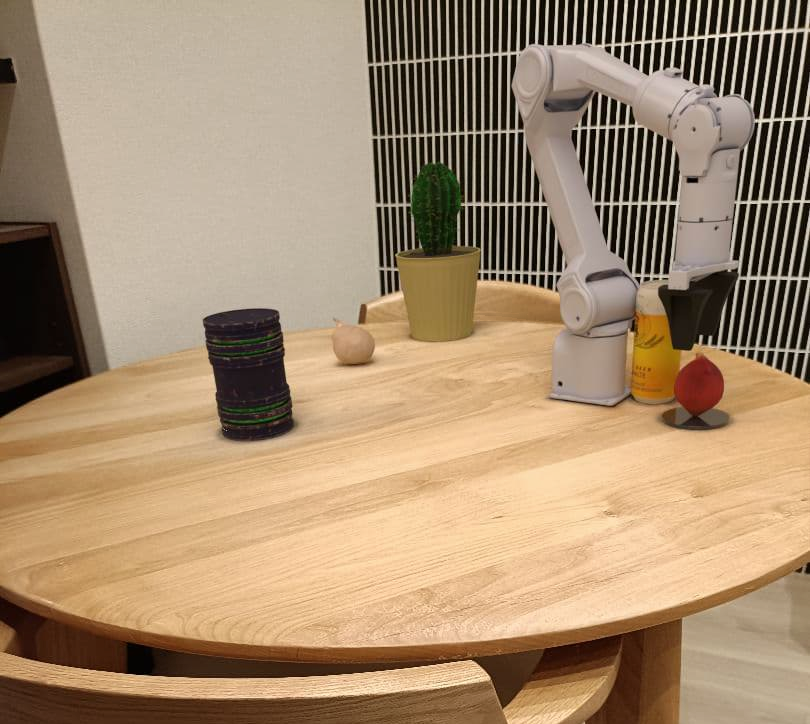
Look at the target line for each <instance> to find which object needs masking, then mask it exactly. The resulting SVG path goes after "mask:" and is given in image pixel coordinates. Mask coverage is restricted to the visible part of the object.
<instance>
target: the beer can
mask: <svg viewBox="0 0 810 724" xmlns="http://www.w3.org/2000/svg"><path fill="white" fill-rule="evenodd" d="M668 283H669V279H652V280H646V281H642V282H641V283H639V285H640V288H639V290H638V291H637V296H636V312H635V319H634V331H633V346H632V347H633V348H632V360H631V361H632V364H631V378H630V387H631V394H630V395H632V397H633V398H634V400H635V401H637V402H639V403H642V404H649V405H661V404H667V403H670V402H672V401H673V400H674V398H676V397H675V395H674V383H675V379H676V377H677V375H678V373H679V372H680V370H681V360H682V351H683V350H675V349H673V347H672V343H671V336H670V330H669V324H668V319H667V315H666V312H665V309H664V306H663V304H662V302H661V300H660V298H659V296H658V287H660V286H662V285H664V284H665V285H668Z"/></svg>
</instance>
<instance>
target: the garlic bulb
mask: <svg viewBox="0 0 810 724" xmlns="http://www.w3.org/2000/svg"><path fill="white" fill-rule="evenodd" d="M332 319H333V321H334V323H335V324H336V329H334V330H333V332H332V335H331V340H332V349H333V350H332V351H333V352H334V355H335V356H336V358H337V360H338V361H340V363H342V364H344V365H359V364H365V363H367V362H369V361H370V360H371V358H372V357H373V356H374V353H375V349H376V342H375V338H374V336H373V335H372V334H371V333H370V332H369V331H368V330H366V329H365V328H362V327H359V326H357V325H354V324H343V323H342V322H341V320H340V319H338V318H336V317H334V316H333V317H332Z"/></svg>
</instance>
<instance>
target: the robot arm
mask: <svg viewBox="0 0 810 724" xmlns="http://www.w3.org/2000/svg"><path fill="white" fill-rule="evenodd" d="M515 66H516V67H515V69H514V70H515V71H514V74H513V78H512V81H511V89H512V92H513V95H514V98H515V101H516V104H517V107H518V111H519V114H520V117H521V120H522V123H523V128H524V137H525V142H526V145H527V149H528V152H529V155H530V157H531V160H532V163H533V167H534V170H535V173H536V175H537V178H538V182H539V184H540V188H541V191H542V194H543V196H544V199H545V203H546V204H547V208H548V211H549V214H550V219H551V221H552V224H553V227H554V230H555V232H556V236H557V238H558V239H557V240H558V243H559V245H560V248H561V251H562V253H563V257H564V260H565V263H566V267H565V269H564V270H563V272H562V274H561V275H560V277H559V279H558V280H557V282H556V288H557V292H558V296H559V312H560V316H561V320H562V322H563V324H564V326H565V327H566V328H562V329H561V330H560V331H558V333H557V335H556V337H555V339H554V342H553V347H552V353H551V354H552V359H551V360H552V361H551V363H552V364H551V392H550V393H549V394H548V395H549V398H551V399H556V400H565V401H566V400H567V401H572V402H578V403H579V402H580V403H587V404H593V405H600V406H601V405H602V406H608V407H613V406H615V405H616V404H618V403H620V402H621V401H623V400H624V399H625V398H628V397H629V396H630V395H632V394H631V386H627V385H626V378H627V377H626V375H627V374H626V373H627V356H628V338H629V337H628V336H629V330H630V329H632V327H633V321H635V312H636V296H637V291H638V290H639V288H640V283H639V282H638V280H637V279H636V278H635V276H633V275H632V273H631V271H630V269H629V267H628V264H627V262H626V261H625V260H624V259H623V258H621V257H620V256H619V255H617V254H615V253H614V252H612V251H611V250H609V249H608V244H607V243H606V239H605V236H604V233H603V230H602V227H601V224H600V220H599V218H598V215H597V212H596V210H595V207H594V203H593V200H592V197H591V194H590V191H589V187H588V184H587V182H586V179H585V176H584V172H583V170H582V166H581V164H580V160H579V158H578V154H577V152H576V148H575V145H574V142H573V140H572V136H571V135H572V131H573V129H574V128H575V127H576V126H577V125H578V124H579V123H580V122H581V119H582V118H583V116H584V114H585V112H586V110H587V109H588V107H589V105H590V103H591V101H592V100H593V98H594V95H595V94H596V92H597V93H599V94H601V95H604V96H606V97H607V98H608V97H609V98H611V99H613V100H615V101H618V102H620V103H622V104H624V105H627V106H629V107H632V108H631V109H632V115H633V118H634V120H635V122H636V123H637V124H639V125H640V126H642V127H644V128H646V129H648V130H650V131H652V132H654V133H655V134H657V135H659V136H661V137H663V138H665V139H666V140H669V141H670V142H672V143H673V146H674V149H675V151H676V153H677V155H678V159H679V161H678V171H679V172H680V176H681V181H680V193H679V194H680V195H679V207H678V218H677V219H678V221H677V232H676V234H677V235H676V242H675V243H676V244H675V245H676V246H675V258H674V260H673V261H672V269H670V270H669V271H668V280H669V283H668V285H665V284H664V285H662V286H660V287H658V296H659V298H660V300H661V302H662V304H663V306H664V309H665V312H666V315H667V319H668V324H669V330H670V336H671V343H672V347H673V349H675V350H682V351H686V352H690V351H692V350H693V348H694V345H695V343H696V340H697V336H704V337H705V336H707V337H713V336H715V333H716V332H717V328H718V326H719V323H720V320H721V317H722V313H723V311H724V307H725V304H726V302H727V300H728V297H729V295H730V293H731V291H732V289H733V288H734V287H735V285H736V283H737V282H738V280H739V277H740V273H739V272H738V271H726V270H736V269H737V268H739V267H740V261H739V260H734V259H733V260H732V259H731V251H730V248H731V239H732V230H733V218H734V211H735V202H736V193H737V183H738V174H739V163H740V153H741V151H742V150H744V149H745V147H747V145H748V144H749V143H750V141H751V139H752V136H753V134H754V130H755V126H756V125H755V123H756V118H755V112H754V108H753V107H752V105H751V104H750V102H749V101H748V100H747V99H745V98H743V96H742V95H741V94H738V93H733V94H727V95H725V96H719V97H718V95H717V94H716V93H715V92H714V91H715V87H714V86H712V85H710V84H701V85H698V84H695V83H694V82H691V81H690V80H687V79H685V78H683V77H682V76H683V73H684V72H683V70H681V69H679V68H677V67H666V68H665V69H660V70H659V69H658V70H656V71H654V72H652V73H650V74H649V75H647V74H645V73H644V72H643V71H640V70H638V69H637V68H635V67H633V66H632V65H630V64H628V63H626V62H625V61H623V60H621V59H620V58H618V57H616V56H615V55H612V54H611V53H609V52H607V51H606V49H605V47H600V46H595V45H593V44H591V43H587V42H586V43H585V42H584V43H580V44H566V45H565V44H560V45H559V44H558V45H557V44H556V45H555V44H554V45H542V44H538V43H531V44H529V45H528V46H525V48H524V49H523V50H522V51H521V52H520V55H519V57H518V59H517V62H516V65H515Z"/></svg>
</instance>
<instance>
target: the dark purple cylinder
mask: <svg viewBox="0 0 810 724" xmlns="http://www.w3.org/2000/svg"><path fill="white" fill-rule="evenodd" d="M280 319H281V316H280V311H279V310H277V309H275V308H265V307H264V308H261V307H259V308H258V307H257V308H255V307H254V308H241V309H239V308H238V309H232V310H225V311H221V312H217V313H213V314H209V315H207V316H205V317H204V318H202V325H203V328H204V337H205V348H206V351H207V355H208V357H207V359H208V362H209V364H210V365H211V366H212V373H213V378H214V383H215V390H216V392H215V395H214V396H215V403H216V405H217V406H216V410H217V416H218V417H219V422H220V424H221V434H222V436H223V437H224V438H226V439H227V440H231V441H237V442H238V441H240V442H253V441H262V440H268V439H272V438H276V437H279V436H282V435H284V434H288V433H289V432H290V431H292V430H293V428H295V421H294V419H293V400H292V399H293V398H292V397H291V389H290V385H289V384H288V382H287V374H286V368H285V359H284V357H285V356H286V353H285V351H286V348H285V344H284V342H285V341H284V340H285V339H284V333H283V331H282V323H281V322H280ZM223 428H224V429H225V430H224V429H223ZM226 430H227V431H226Z"/></svg>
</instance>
